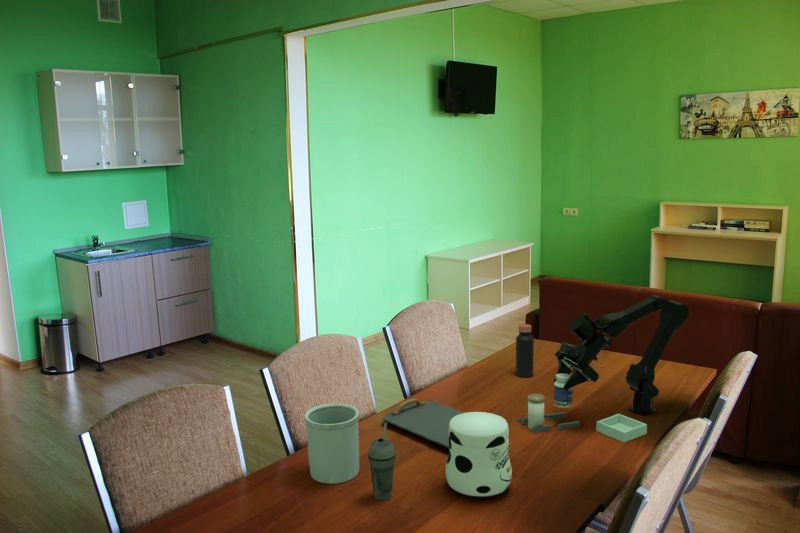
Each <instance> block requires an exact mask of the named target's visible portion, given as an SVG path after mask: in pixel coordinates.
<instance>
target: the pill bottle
mask: <svg viewBox="0 0 800 533" xmlns="http://www.w3.org/2000/svg"><path fill="white" fill-rule="evenodd" d="M556 374H557V373H556ZM556 374H555V376H556V380H557V381H556V382H555V383H554V382H553V383H554V384H553V386H554V387H553V404H554V406H556V407H557V408H561V409H566V408H567V409H568V408H571V407H572V405H573V387H571V388H569V389H567V390H565V389H564V388H563V387H564V385H565V384H566V382H567V381H568V380H569V378H570V377H571V375H570V374H563V373H561V374H557V375H556Z"/></svg>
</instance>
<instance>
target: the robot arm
mask: <svg viewBox="0 0 800 533" xmlns="http://www.w3.org/2000/svg"><path fill="white" fill-rule="evenodd" d="M656 311H660V312H659V325H658V327H657V329H656V330H655V333H654V334H653V336H652V339H651V340H650V342H649V344H648V346H647V348H646V350H645V352H644V353H643V356H642V358H641V359H640V361H639V362H638V363H636V364H635V363H631V364H630V366H629V368H628V371H627V372H626V373H625V374H626V377H625V381H626V384H627V386H628V387H629V390H631V391H633V392H634V393H633V399H632V406H631V407H628V408H629V410H630V411H632V412H635V413H637V414H640V415H643V416H647V415H650V414H652V413H656V412H657V408H654V398H655V397H658V396H659V393H660V390H659V388H657V386H656V385H655V384H654V381H655V378H656V377H655V376H656V375H655V369H656V366H657V364H658V362H659V361H660V359H661V357H662V354H663V353H664V352H665V349H666V347H667V345H668V344H669V341H670V340H671V337H672V335H673V334H674V332H675V331H676V330H677V329H679V328H680V327H681V326H683V325H684V323H685V322H686V321H687V319H688V317H689V316H690V311H689V307H688V306H687V305H686V304H684V303H680V302H677V301H674V300H667V299H664V298H663V297H660V296H659V295H655V294H654V295H649V296H648V297H647V298H645V299H643V300H641V301H639V302H638V303H636V304H634V305H631V306H630V307H628V308H625V309H624V310H622V311H619V312H611V313H608V314H604V315H601V316H600V317H599V318H597V319H593V320H592V319H591V318H590V316H588V314H586V313H584V312H583V313H581V315H578V316H576V317H575V318H572V320H571V321H570V323H569V325H568V328H569V329H570V330H571V332H573V334H574V335H576V336H577V337H578V338H579V339H580V341H583V343H582V344H580V343H578V344H573V345H572V344H570V343H566V342H564V341H561V344H560V347H559V349H558V350H557V351H556V352H555V353H554V355H553V356H554V357H555V358H556V359H557V361H558V368H557V372H556V373H555V376H554V379H553V383H555V382H556V381H557V380H556V375H557V374H561V373H563V374H569V375H570V374H571V375H570V376H571V377H570V378H569V380H568V381H567V382H566V384H565V385H564V387H563V388H564V389H565V390H567V389H569V388H571V387H572V388H573V387H575V386H577V385H581V384H583V383H586V382H587V383H588V382H590V381H591V382H593V383H597V381H598V380H599V379H600V374H599V373H598V372H597V371H596V370H595V369H594V368H593V367H592V366H591V363H592V362H593V361H597V360H598V359H599V358H598V357H597V356H598V355H599V354H600V352H601V351H602V350H603V348H604V347H605V346H607V347H608V348H612V347H613V343H612V338H615V337H618V336H619V335H620V334H622V333H623V332H625V330H626V329H627V327H628V326H630V325H631V324H633V323H635V322H636V321H638V320H641V319H642V318H645V317H647V316H648V315H651V314H653V313H654V312H656ZM597 331H599V332H597ZM604 334H605V335H606V336H609V337H606V336H605V335H604ZM611 337H612V338H611Z"/></svg>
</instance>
